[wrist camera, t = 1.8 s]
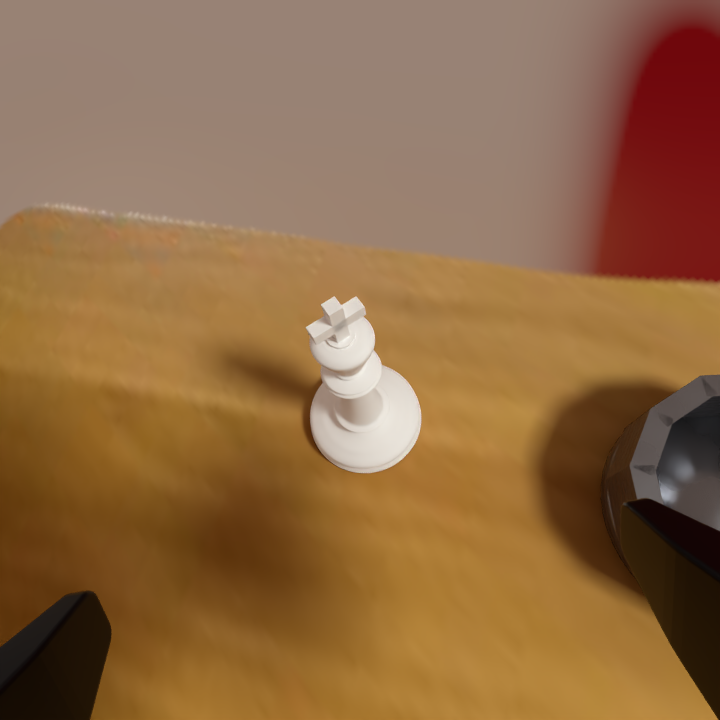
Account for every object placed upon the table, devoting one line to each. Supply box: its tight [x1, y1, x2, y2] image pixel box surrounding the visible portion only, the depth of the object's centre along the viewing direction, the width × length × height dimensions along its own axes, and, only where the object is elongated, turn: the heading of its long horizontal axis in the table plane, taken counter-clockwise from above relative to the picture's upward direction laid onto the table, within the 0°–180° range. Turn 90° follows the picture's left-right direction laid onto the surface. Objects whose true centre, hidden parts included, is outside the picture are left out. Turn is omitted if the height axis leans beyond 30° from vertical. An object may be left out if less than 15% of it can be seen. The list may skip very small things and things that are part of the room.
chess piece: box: [306, 296, 421, 473], centre depth 18 cm, size 5×5×10 cm
